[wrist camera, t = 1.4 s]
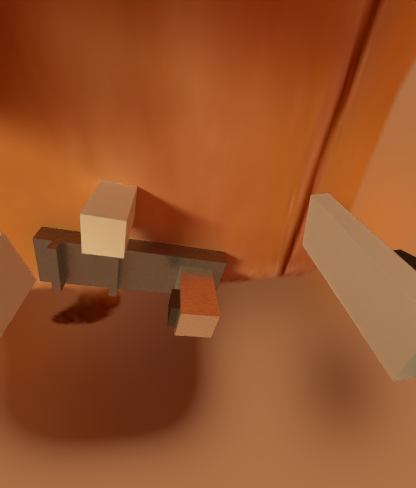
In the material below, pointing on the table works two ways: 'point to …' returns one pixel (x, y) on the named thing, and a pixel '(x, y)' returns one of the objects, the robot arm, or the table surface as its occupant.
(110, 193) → the cream rectangular block
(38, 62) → the table surface
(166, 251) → the rail
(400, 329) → the robot arm
